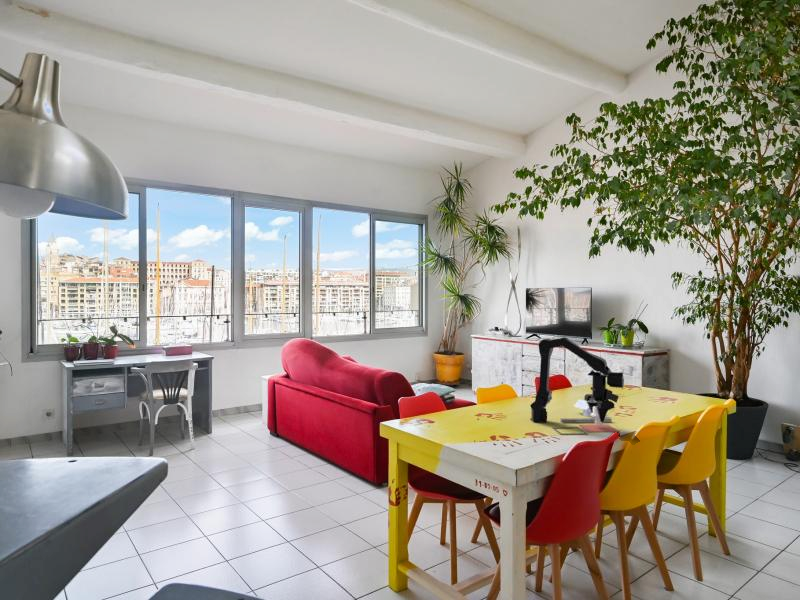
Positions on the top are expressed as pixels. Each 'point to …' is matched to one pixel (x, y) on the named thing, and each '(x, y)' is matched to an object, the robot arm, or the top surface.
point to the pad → (599, 428)
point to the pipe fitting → (596, 416)
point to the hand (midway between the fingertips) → (598, 420)
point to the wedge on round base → (583, 407)
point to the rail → (583, 420)
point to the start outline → (570, 433)
